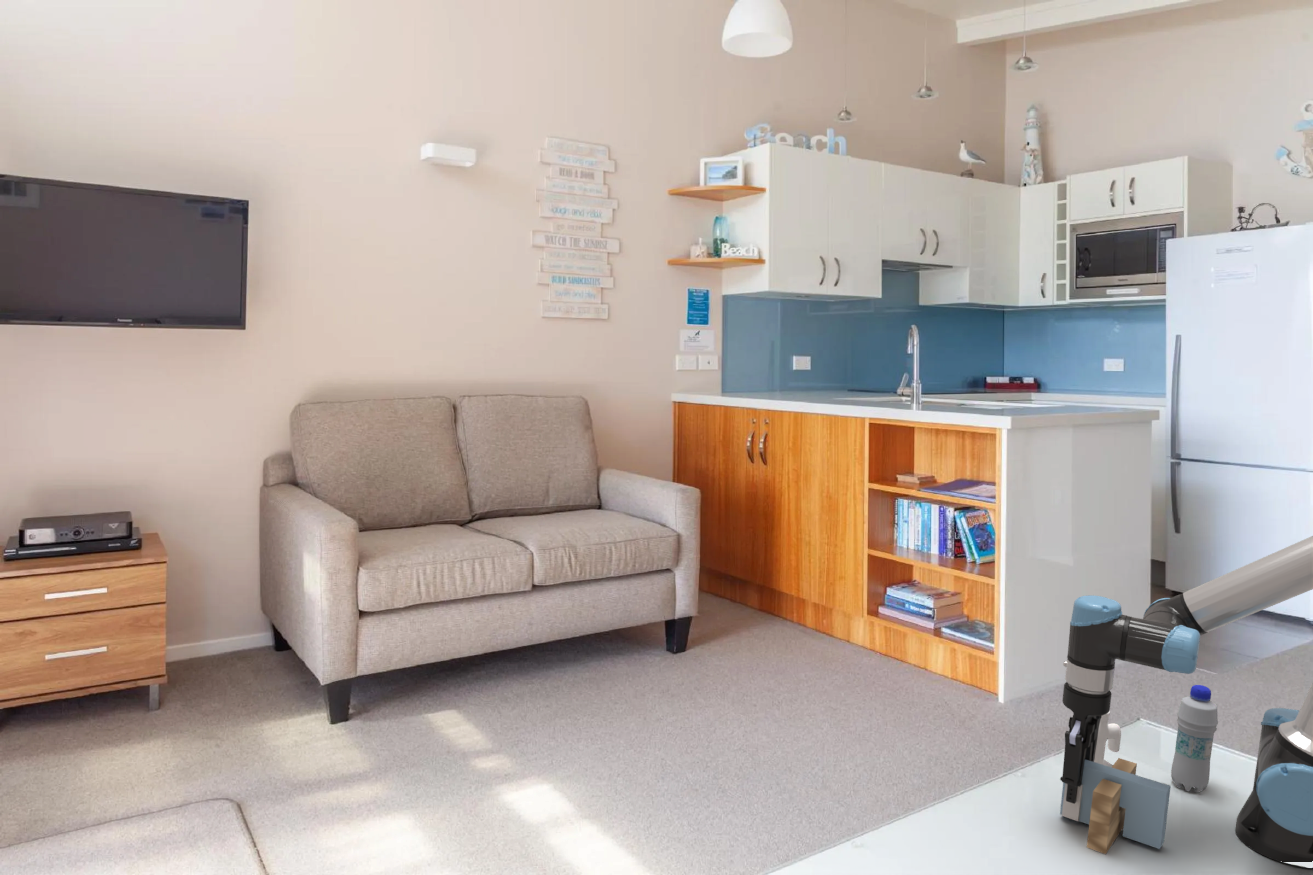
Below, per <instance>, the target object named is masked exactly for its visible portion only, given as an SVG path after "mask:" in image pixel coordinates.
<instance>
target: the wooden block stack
mask: <svg viewBox="0 0 1313 875" xmlns="http://www.w3.org/2000/svg"><path fill="white" fill-rule="evenodd" d="M1112 765H1113V766H1112V768H1115V769H1118V770H1121V771H1125V772H1128V773H1131V774H1134V775H1137V774H1136V773H1137V767H1138V766H1137V765H1138V763H1136V762H1133V761H1129V760H1126V759H1123V758H1121V757H1118V758H1117V760H1116V761H1115V762H1114V764H1112ZM1121 787H1122V785H1121V784H1118V783H1115V782H1112V781H1109V780H1105V779H1102V780H1101V782H1100V783H1099V784H1098V785H1097V787H1096V788H1095V789H1094V791H1093V797H1092V805H1091V814H1090V823H1089V824H1088V831H1087V833H1088V834H1087V842H1086V848H1088V849H1090V850H1093V851H1096V852H1099V853H1101V854H1103V855H1107V853H1108V852H1109V850H1110V849H1111V847H1112V846H1113V844H1114V842H1115V841H1116V839H1117V838H1118V836H1119V835H1120V833H1122V832H1121V831H1123V828H1124V819H1125V811H1126V808H1123V807H1120V806H1119V803H1120V795H1121Z"/></svg>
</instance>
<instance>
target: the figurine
mask: <svg viewBox="0 0 1313 875" xmlns="http://www.w3.org/2000/svg"><path fill="white" fill-rule="evenodd" d="M1110 714H1111V710H1109V712H1108V713H1107V714H1105V715H1101V716H1102V717H1101V719H1100V724H1099V730H1098V737H1097V745H1096V752H1095V759H1094V762H1095V763H1099V764H1102V765H1105V766H1108V767H1112V766H1113V765H1114V764H1112V763H1110V762H1109V761H1108V760H1105V754H1106V753H1105V752H1106V744H1107V748H1108V750H1109V751H1110V752H1113V753H1118V752H1119V751H1120V749H1121V748H1120V747H1121V740H1122V730H1121V727H1120V725H1119V724H1117V723H1114V722H1113V723H1109V719H1110Z"/></svg>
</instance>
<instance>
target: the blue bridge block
mask: <svg viewBox="0 0 1313 875" xmlns="http://www.w3.org/2000/svg"><path fill="white" fill-rule="evenodd" d="M1102 779H1105V780H1109V781H1112V782H1115V783H1118V784H1121V785H1122V787H1121V795H1120V803H1119V806H1120V807H1123V808H1126V811H1125V819H1124V827H1123V829H1122V837H1123V838H1126V839H1130V840H1132V841H1136V842H1137V843H1140V844H1144V845H1147V846H1149V847H1152V848H1155V849H1158V850H1160V849H1162V846H1163V844H1164V842H1165V838H1166V829H1167V820H1168V811H1169V804H1170V797H1171V796H1170V795H1171V785H1169V784H1166V783H1163V782H1160V781H1157V780H1154V779H1150V778H1147V777H1144V776H1141V775H1137V774H1136V775H1134V774H1131V773H1128V772H1125V771H1121V770H1118V769H1115V768H1112V767H1108V766H1105V765H1102V764H1099V763H1095V762H1092V761H1089V760H1086V759H1085V762H1084V769H1083V776H1082V784H1083V790H1082V799H1081V808H1080V817H1079V821H1078V822H1080V823H1084V824H1087V825H1089V823H1090V814H1091V805H1092V797H1093V791H1094V789H1095V788H1096V787H1097V785H1098V784H1099V783H1100V782H1101V780H1102ZM1061 790H1062V791H1061V801H1060V802H1061V803H1060V810H1059V815H1060V816H1062V809H1063V800H1064V791H1065V783H1063V782H1062V789H1061Z"/></svg>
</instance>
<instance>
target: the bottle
mask: <svg viewBox="0 0 1313 875" xmlns="http://www.w3.org/2000/svg"><path fill="white" fill-rule="evenodd" d="M1211 698H1212V691H1211V689H1210V688H1209V687H1207V686H1205V685H1203V684H1193V685H1192V686H1191V688H1190V693H1189V696H1185V697H1182V698H1181V701H1180V703H1179V704H1180V705H1179V708H1178V709H1177V710H1178V711H1177V713H1176V714H1177V718H1176V722H1177V725H1178V726H1177V733H1176V734H1177V735H1176V740H1175V747H1174V748H1175V749H1174V755H1173V760H1172V762H1171V763H1172V764H1171V769H1170V773H1171V774H1170V777H1171V780H1172V782H1173V783H1174V785H1175V786H1176V787H1178V788H1182V786H1184V790H1185V791H1187V792H1190V791H1191V790H1192V788H1194V792H1195V793H1200V792H1202V791H1204V790H1206V789H1207V787H1208V786H1209V781H1210V771H1211V770H1210V769H1211V758H1212V751H1213V743H1214V737H1215V736H1214V735H1215V733H1216V731H1217V727H1218V723H1219V721H1218V719H1219V718H1218V706H1217V704H1216V703H1215V702H1213V701H1211Z"/></svg>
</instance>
